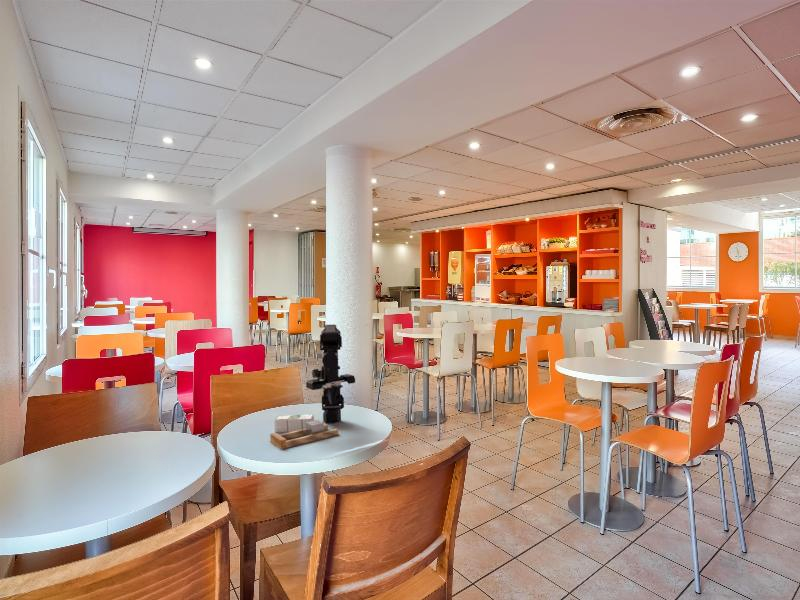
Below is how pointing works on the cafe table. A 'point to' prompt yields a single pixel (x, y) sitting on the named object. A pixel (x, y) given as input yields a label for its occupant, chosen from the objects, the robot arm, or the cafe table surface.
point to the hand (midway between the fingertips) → (331, 403)
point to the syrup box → (292, 422)
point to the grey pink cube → (314, 427)
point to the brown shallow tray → (284, 443)
